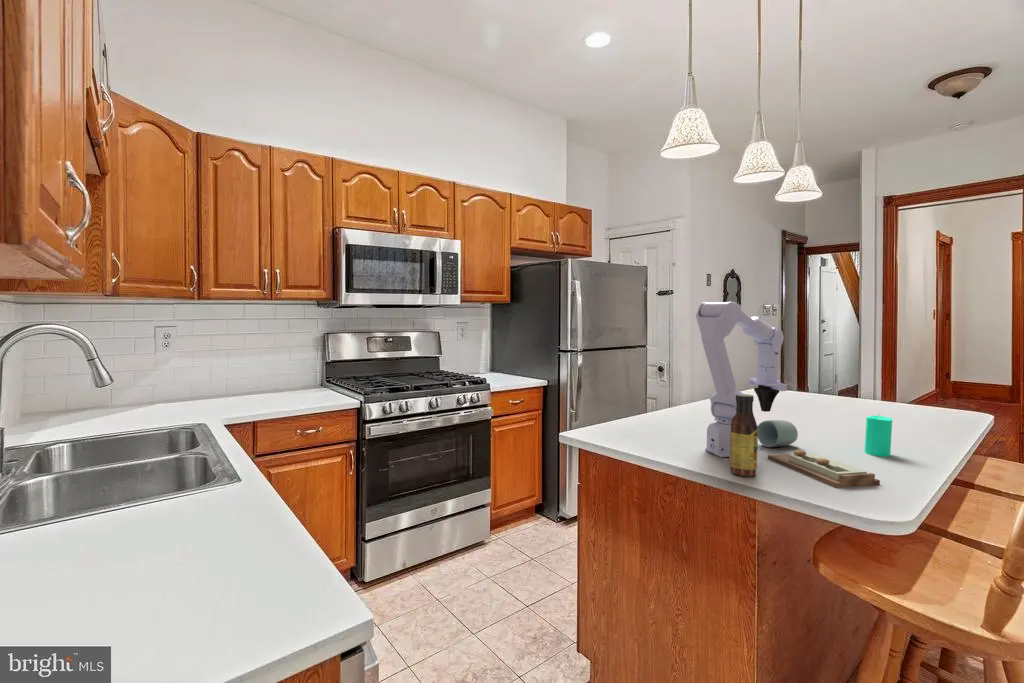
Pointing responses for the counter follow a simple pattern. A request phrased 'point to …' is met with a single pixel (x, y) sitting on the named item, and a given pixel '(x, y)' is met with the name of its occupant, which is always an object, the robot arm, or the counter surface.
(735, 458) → the sauce bottle
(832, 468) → the panel
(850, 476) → the board
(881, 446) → the candle
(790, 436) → the cup
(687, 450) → the counter surface
